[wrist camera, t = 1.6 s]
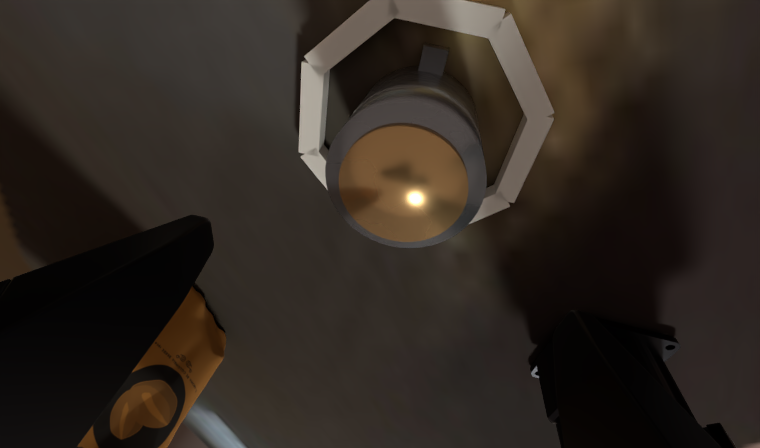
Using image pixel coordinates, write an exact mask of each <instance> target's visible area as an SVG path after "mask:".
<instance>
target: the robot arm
mask: <svg viewBox="0 0 760 448" xmlns="http://www.w3.org/2000/svg"><path fill="white" fill-rule="evenodd" d="M213 247H214V241H213V234H212V228H211V222H210V220H209V219H207V218H205V217H201V216H197V215H189V216H186V217H183V218H181V219H178V220H175V221H172V222H169V223H166V224H164V225H161V226H158V227H155V228H152V229H149V230H147V231H144V232H141V233H138V234H135V235H132V236H130V237H127V238H124V239H121V240H118V241H115V242H113V243H110V244H107V245H104V246H101V247H98V248H96V249H93V250H90V251H87V252H84V253H81V254H78V255H76V256H73V257H70V258H67V259H64V260H61V261H59V262H56V263H53V264H50V265H47V266H44V267H42V268H39V269H36V270H33V271H30V272H27V273H25V274H22V275H19V276H16V277H14V278H13V279H12V280H10V279H7V280H4V281H2V282H0V448H77V446H78V445H79V444H80V442H81V441H82V439H83V438H84V437H85V435H86V434H87V433H88V431H89V430H90V429H91V427H92V426H93V424H94V423H95V422H96V420H97V419H98V418H99V416H100V415H101V414H102V412H103V411H104V409H105V408H106V407H107V405H108V404H109V403H110V401H111V400H112V399H113V397H114V396H115V394H116V393H117V392H118V390H119V389H120V388H121V386H122V385H123V384H124V382H125V381H126V379H127V378H128V377H129V375H130V374H131V373H132V371H133V370H134V369H135V367H136V366H137V364H138V363H139V362H140V360H141V359H142V358H143V356H144V355H145V354H146V352H147V351H148V350H149V348H150V347H151V345H152V344H153V343H154V341H155V340H156V339H157V337H158V336H159V335H160V333H161V332H162V330H163V329H164V328H165V326H166V325H167V324H168V322H169V321H170V320H171V318H172V317H173V315H174V314H175V313H176V311H177V310H178V308H179V307H180V306H181V304H182V303H183V301H184V300H185V298H186V296H187V295H188V293H189V291H190V289H191V288H192V286H193V284H194V283H195V281H196V279H197V277H198V276H199V274H200V272H201V270H202V269H203V267H204V265H205V264H206V262H207V260H208V258H209V257H210V255H211V253H212V251H213ZM679 349H680V344H679V343H678V341H677V340H676V338H674V337H671V336H666V335H662V334H658V333H654V332H650V331H646V330H642V329H638V328H634V327H630V326H626V325H622V324H618V323H614V322H610V321H606V320H602V319H598V318H595V317H594V316H593V315H592V314H590V313H588V312H584V311H580V310H575V309H573V310H570V311H569V312H568V313H567V314H566V316H565V317H564V318H563V320H562V321H561V322H560V324H559V325H558V326H557V328H556V329H555V331H554V334H553V339H551V340H550V342H549V343H548V344H547V346H546V347H545V348H544V350H543V351H542V352H541V353H540V355H539V356H538V357H537V359H536V360H535V362H534V363H533V364H532V366H531V367H530V370H531V374H532V376H533V377H536V378H539V380H540V385H541V390H542V394H543V399H544V404H545V408H546V413H547V417H548V419H549V421H550V422H551V423H555V424H556V427H557V431H558V436H559V440H560V444H561V448H737V447H736V446H735V444H734V443H733V441H732V440H731V438H730V437H729V436H728V434H727V433H726V431H725V430H724V428H723V427H722V425H721V424H720V423H715V424H709V425H706V426H707V427H705V428H702V427H701V426H700V425H699V424H698V423H697V421H696V419H695V417H694V416H693V414H692V412H691V410H690V408H689V406H688V405H687V403H686V401H685V399H684V397H683V396H682V394H681V392H680V390H679V388H678V386H677V385H676V383H675V381H674V379H673V377H672V376H671V374H670V372H669V370H668V368H667V366H666V365H665V363H664V362H665V361H666V360H667V359H668V358H670V357H671V356H672V355H673V354H674V353H675V352H677V351H678V350H679Z"/></svg>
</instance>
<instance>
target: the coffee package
mask: <svg viewBox="0 0 760 448" xmlns="http://www.w3.org/2000/svg"><path fill="white" fill-rule="evenodd" d="M225 345H226V335H225V333H224V331H222V330H221V329H219V328H218V327H217V325H216V324H215V321H214V318H213V315H212V314H211V313H210V312H209V311H208V309H207V308H206V306H205V300H204V298H203V297H202V295H201V294H200V293H199V292H197V291H196V290H195V289H194V288H193V286H192V288H191V289H190V291H189V293H188V295H187V296H186V298H185V300H184V301H183V303H182V304H181V306H180V307H179V308H178V310H177V311H176V313H175V314H174V315H173V317H172V318H171V320H170V321H169V322H168V324H167V325H166V326H165V328H164V329H163V330H162V332H161V333H160V335H159V336H158V337H157V339H156V340H155V341H154V343H153V344H152V345H151V347H150V348H149V350H148V351H147V352H146V354H145V355H144V356H143V358H142V359H141V360H140V362H139V363H138V364H137V366H136V367H135V369H134V370H133V371H132V373H131V374H130V375H129V377H128V378H127V379H126V381H125V382H124V384H123V385H122V386H121V388H120V389H119V390H118V392H117V393H116V394H115V396H114V397H113V399H112V400H111V401H110V403H109V404H108V405H107V407H106V408H105V409H104V411H103V412H102V414H101V415H100V416H99V418H98V419H97V420H96V422H95V423H94V424H93V426H92V427H91V429H90V430H89V431H88V433H87V434H86V435H85V437H84V438H83V439H82V441H81V442H80V444H79V445H78V446H77V448H167V447H168V445H169V443H170V442H171V440H172V438H173V436H174V434H175V433H176V431H177V429H178V427H179V425H180V424H181V422H182V421H183V419H184V418H185V416H186V415H187V413H188V412H189V410H190V408H191V407H192V405H193V404H194V402H195V401H196V399H197V398H198V396H199V395H200V393H201V392H202V390H203V389H204V387H205V386H206V384H207V383H208V381H209V379H210V378H211V376H212V375H213V373H214V372H215V370H216V369H217V367H218V366H219V364H220V363H221V361H222V360H223V358H224V349H225Z"/></svg>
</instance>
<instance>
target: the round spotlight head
mask: <svg viewBox="0 0 760 448" xmlns="http://www.w3.org/2000/svg"><path fill="white" fill-rule="evenodd" d="M448 52H449V48H446V47H442V46H437V45H433V44H428V43H425V44H424V46H423V51H422V55H421V60H420V65H419V66H413V67H406V68H402V69H399V70H396V71H394V72H392V73H390V74H388V75H386V76H385V77H383V78H382V79H381V80H379V81H378V82H377V83H376V84H375V85H374V86H373V87H372V89H371V90H370V91H369V93H368V94H367V95H366V97H365V98H364V99H363V101H362V102H361V103H360V105H359V106H358V107H357V109H356V110H355V111H354V113H353V114H352V115H351V117H350V118H349V119H348V121H347V122H346V123H345V125H344V126H343V127H342V129H341V130H340V131H339V133H338V134H337V136H336V137H335V138H334V140H333V142H332V144H331V146H330V149H329V152H328V155H327V159H326V165H325V178H326V185H327V189H328V193H329V195H330V198H331V200H332V202H333V204H334V206H335V208H336V209H337V211H338V212H339V214H340V215H341V216H342V217H343V219H344V220H345V221H346V222H347V223H348V224H349V225H350V226H352V227H353V228H354V229H355V230H357V231H358V232H359V233H361V234H362V235H364V236H366V237H368V238H370V239H372V240H374V241H376V242H379V243H382V244H385V245H389V246H394V247H401V248H419V247H426V246H431V245H435V244H437V243H440V242H443V241H445V240H447V239H449V238H451V237H453V236H454V235H456V234H458V233H459V232H460V231H462V230H463V229H464V228H465V227H466V226H467V225H468V224H469V223H470V222H471V221H472V220H473V218H474V217H475V215H476V214H477V212H478V211H479V209H480V207H481V205H482V202H483V199H484V196H485V192H486V186H487V173H486V166H485V160H484V154H483V148H482V142H481V136H480V130H479V124H478V118H477V112H476V109H475V105H474V103H473V101H472V98H471V96H470V95H469V93H468V92H467V90H466V89H465V88H464V87H463V86H462V84H461V83H460V82H458V81H457V80H456V79H455V78H454V77H452V76H450V75H449V74H447V73H445V72H443V71H444V67H445V63H446V60H447V56H448Z"/></svg>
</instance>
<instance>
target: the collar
mask: <svg viewBox="0 0 760 448" xmlns="http://www.w3.org/2000/svg"><path fill="white" fill-rule="evenodd" d="M505 10H506V9H504V8H502V7H498V6H493V5H488V4H484V3H479V2H474V1H470V0H369V1H368V2H367V3H366V4H365V5H363V6H362V7H361V8H360V9H359V10H358V11H356V12H355V13H354V14H353V15H352V16H351V17H349V18H348V19H347V20H346V21H345V22H344V23H342V24H341V25H340V26H339V27H338V28H337V29H335V30H334V31H333V32H332V33H331V34H330V35H328V36H327V37H326V38H325V39H324V40H323V41H321V42H320V43H319V44H318V45H317V46H316V47H314V48H313V49H312V50H311V51H310V52H309V53H307V54H306V55H305V56H304V57H305V59H306V60H304V61H302V65H301V97H300V128H299V152H300V153H303V155H302V156H301V158H302V159H303V161H304V162H305V163H306V164H307V166H308V167H309V168H310V169H311V170H312V172H313V173H314V174H315V175H316V176H317V178H318V179H319V180H320V181H321V183H322V184H323V185H324V186H325V187H326V189H327V185H326V178H325V165H326V159H327V155H328V152H329V150H328V149H327V148H326V147H325V145H324V139H325V127H326V114H327V101H328V88H329V75H330V69H331V68H332V67H334V66H335V65H336V64H337V63H339V62H340V61H341V60H342V59H344V58H345V57H346V56H348V55H349V54H350V53H351V52H353V51H354V50H355V49H356V48H358V47H359V46H360V45H361V44H363V43H364V42H365V41H366V40H368V39H369V38H370V37H371V36H373V35H374V34H375V33H376V32H378V31H379V30H380V29H381V28H383V27H384V26H385V25H386V24H388V23H389V22H390V21H391V20H393V19H394V18H397V19H401V20H406V21H411V22H415V23H420V24H424V25H429V26H434V27H438V28H443V29H447V30H452V31H457V32H461V33H466V34H470V35H475V36H480V37H484V38H488V39H489V41H490V43H491V45H492V48H493V50H494V52H495V54H496V56H497V58H498V60H499V62H500V64H501V66H502V68H503V70H504V73H505V75H506V77H507V79H508V81H509V83H510V85H511V87H512V89H513V91H514V93H515V95H516V97H517V100H518V102H519V104H520V106H521V108H522V110H523V112H524V114H523V117H522V119H521V122H520V124H519V126H518V129H517V131H516V134H515V136H514V138H513V141H512V143H511V145H510V148H509V150H508V153H507V155H506V157H505V160H504V162H503V164H502V167H501V169H500V172H499V174H498V176H497V179H496V181H495V183H494V185H492V186H490V187H488V188H486V192H485V196H484V199H483V202H482V205H481V207H480V209H479V211H478V212H477V214H476V215H475V217H474V218H473V220H472V221H471V222H470V223H469V224H471V223H473V222H475V221H478V220H480V219H482V218H485V217H487V216H489V215H492V214H494V213H496V212H499V211H501V210H503V209H506V208H508V207H510V204H509V202H512V203H514V202H515V200H516V198H517V196H518V194H519V192H520V190H521V188H522V186H523V183H524V181H525V179H526V177H527V175H528V173H529V171H530V169H531V167H532V165H533V163H534V160H535V158H536V156H537V154H538V152H539V150H540V148H541V146H542V144H543V142H544V140H545V137H546V135H547V133H548V131H549V129H550V127H551V125H552V123H553V121H554V118H553V116H552V115H551V114H553V113H555V112H554V110H553V108H552V105H551V103H550V101H549V99H548V96H547V94H546V92H545V90H544V87H543V85H542V83H541V80H540V78H539V76H538V74H537V71H536V69H535V67H534V64H533V62H532V60H531V58H530V55H529V53H528V51H527V49H526V46H525V44H524V42H523V39H522V37H521V35H520V33H519V30H518V28H517V26H516V24H515V21H514V19H513V17H512V14H511V13H509V12H507V13H506V14H504V13H505ZM327 190H328V189H327Z"/></svg>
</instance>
